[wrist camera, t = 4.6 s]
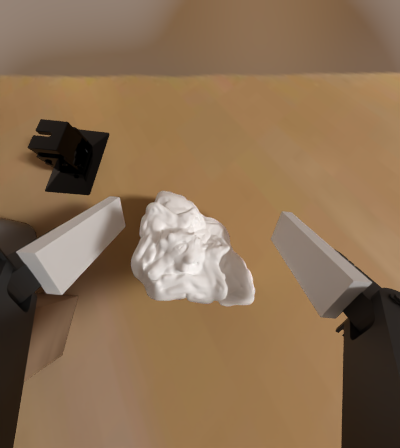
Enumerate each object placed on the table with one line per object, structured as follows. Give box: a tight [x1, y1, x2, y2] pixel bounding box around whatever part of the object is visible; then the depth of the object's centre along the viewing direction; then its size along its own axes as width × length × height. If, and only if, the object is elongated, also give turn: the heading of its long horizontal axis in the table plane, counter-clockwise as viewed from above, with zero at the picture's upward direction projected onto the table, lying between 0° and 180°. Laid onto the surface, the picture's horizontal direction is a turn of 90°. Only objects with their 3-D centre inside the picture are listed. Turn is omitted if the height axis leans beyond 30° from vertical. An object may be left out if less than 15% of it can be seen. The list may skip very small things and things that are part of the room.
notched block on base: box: [28, 119, 109, 195], centre depth 17 cm, size 12×7×5 cm, turn 174°
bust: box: [131, 191, 255, 306], centre depth 12 cm, size 12×8×11 cm
